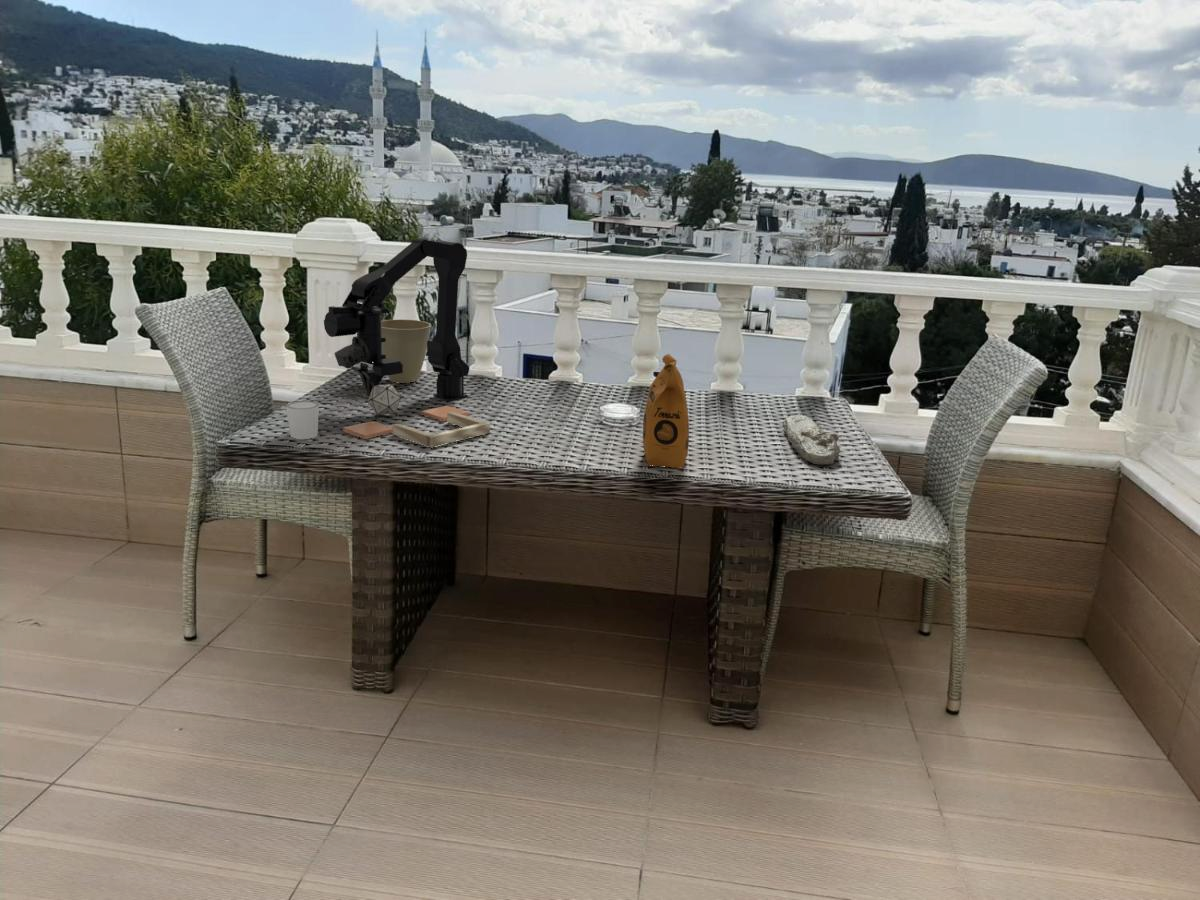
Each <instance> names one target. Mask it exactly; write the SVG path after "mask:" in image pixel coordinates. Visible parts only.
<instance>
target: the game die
mask: <svg viewBox="0 0 1200 900" xmlns="http://www.w3.org/2000/svg"><path fill="white" fill-rule="evenodd" d="M371 385H372V386H373V388H372V390H371V393H370V396H369V397H368V399H367V400H365V401H364V403H365V404H369V406H370V407H371V410H372V411H373V412H374V413H375V416H374V418H375V419H377V418H378V416H381V415H392V414H393V415H394V416H396V417H398V413H396V412H397V410H398V408H399V405H400V402H401V399H404V398H405V396H404V395H403V396H401V395H400V393H399V392H398V391H397V389H396V388H395V386H394V382H391V381H390V384H388V383H387V384H379V385H374V384H373V383H371Z"/></svg>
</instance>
